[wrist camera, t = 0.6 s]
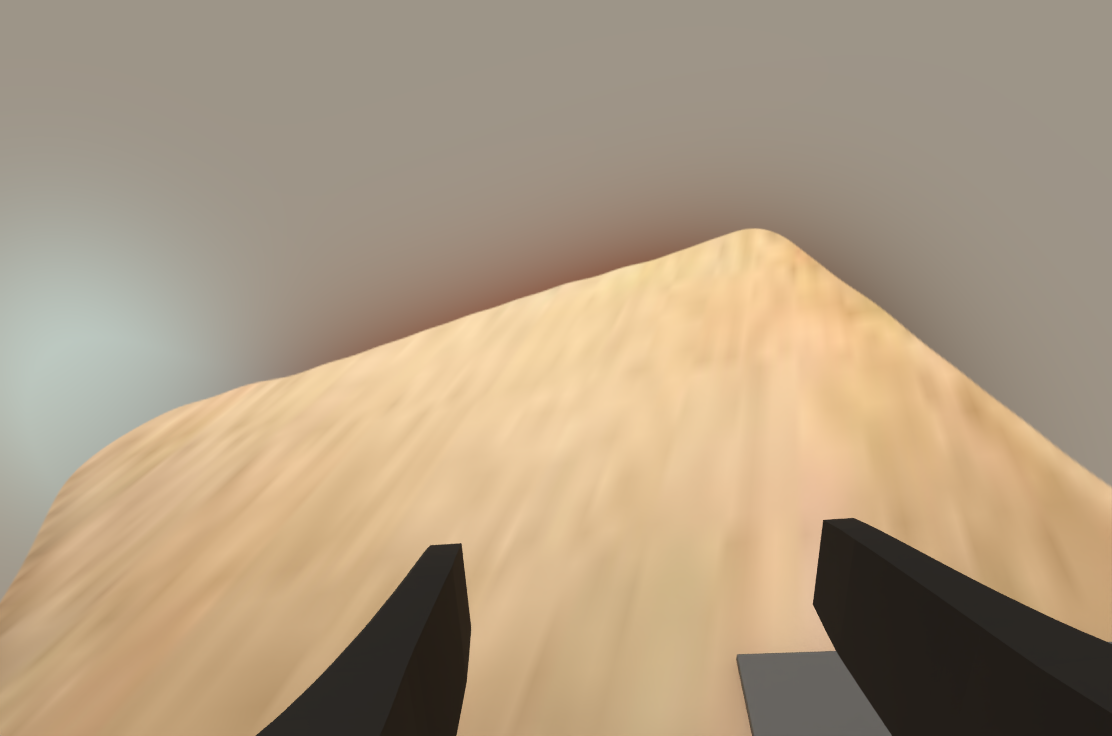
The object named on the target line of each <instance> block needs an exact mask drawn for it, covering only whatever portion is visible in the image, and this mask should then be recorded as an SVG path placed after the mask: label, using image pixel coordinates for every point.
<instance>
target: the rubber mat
mask: <svg viewBox="0 0 1112 736" xmlns="http://www.w3.org/2000/svg"><path fill="white" fill-rule="evenodd" d="M1108 643H1111V644H1112V642H1108ZM736 660H737V665H738V670H739V675H740V679H741V684H742V689H743V694H744V698H745V703H746V708H747V713H748V717H749V722H750V727H751V732H752V736H892V735H891V734H890V732H889V731H888V729H887V728H886V726H885V725H884V723H883V722H882V720H881V719H880V717H879V716H878V714H877V713H876V711H875V710H874V708H873V707H872V705H871V704H870V702H869V701H868V699H867V698H866V696H865V695H864V693H863V692H862V690H861V689H860V687H859V686H858V684H857V683H856V681H855V680H854V678H853V677H852V675H851V674H850V672H849V671H848V669H847V668H846V666H845V664H844V663H843V661H842V660H841V658H840V657H839V655H838V653H837V651H825V652H795V653H765V654H737V658H736Z"/></svg>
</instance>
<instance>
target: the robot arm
mask: <svg viewBox="0 0 1112 736" xmlns="http://www.w3.org/2000/svg"><path fill="white" fill-rule="evenodd" d="M813 606H814V608H815V610H816V612H817V614H818V616H819V618H820V620H821V622H822V624H823V626H824V628H825V630H826V632H827V634H828V636H829V638H830V640H831V642H832V644H833V646H834V648H835V650H836V651H837V653H838V655H839V657H840V658H841V660H842V661H843V663H844V664H845V666H846V668H847V669H848V671H849V672H850V674H851V675H852V677H853V678H854V680H855V681H856V683H857V684H858V686H859V687H860V689H861V690H862V692H863V693H864V695H865V696H866V698H867V699H868V701H869V702H870V704H871V705H872V707H873V708H874V710H875V711H876V713H877V714H878V716H879V717H880V719H881V720H882V722H883V723H884V725H885V726H886V728H887V729H888V731H889V732H890V734H891V735H892V736H1112V644H1111V643H1108V642H1106V641H1103V640H1101V639H1099V638H1096V637H1094V636H1092V635H1089V634H1087V633H1084V632H1082V631H1080V630H1077V629H1075V628H1073V627H1071V626H1069V625H1066V624H1064V623H1062V622H1060V621H1057V620H1055V619H1053V618H1051V617H1049V616H1047V615H1045V614H1042V613H1040V612H1038V611H1036V610H1034V609H1032V608H1030V607H1028V606H1026V605H1024V604H1022V603H1019V602H1017V601H1015V600H1013V599H1011V598H1009V597H1007V596H1005V595H1003V594H1001V593H999V592H997V591H995V590H993V589H991V588H989V587H987V586H985V585H983V584H981V583H979V582H977V581H975V580H973V579H971V578H969V577H967V576H965V575H964V574H962V573H960V572H958V571H956V570H954V569H952V568H950V567H948V566H946V565H944V564H943V563H941V562H939V561H937V560H935V559H933V558H931V557H929V556H928V555H926V554H924V553H922V552H920V551H918V550H916V549H914V548H912V547H911V546H909V545H907V544H905V543H903V542H901V541H899V540H897V539H896V538H894V537H892V536H890V535H888V534H886V533H884V532H882V531H880V530H878V529H876V528H874V527H872V526H870V525H868V524H866V523H864V522H861V521H859V520H857V519H854V518H847V519H831V520H823V527H822V535H821V543H820V551H819V559H818V567H817V575H816V583H815V591H814V600H813ZM470 637H471V622H470V613H469V605H468V596H467V587H466V579H465V570H464V561H463V553H462V544H461V543H460V544H445V545H430V546H429V547H428V548H427V549H426V551H425V552H424V553H423V554H422V556H421V557H420V558H419V560H418V561H417V562H416V564H415V565H414V566H413V568H412V569H411V570H410V572H409V573H408V574H407V576H406V577H405V578H404V580H403V581H402V582H401V583H400V585H399V586H398V587H397V589H396V590H395V591H394V592H393V594H392V595H391V596H390V597H389V599H388V600H387V601H386V602H385V604H384V605H383V606H382V607H381V608H380V610H379V611H378V612H377V613H376V615H375V616H374V617H373V618H372V619H371V621H370V622H369V623H368V624H367V625H366V627H365V628H364V629H363V630H362V631H361V632H360V633H359V634H358V636H357V637H356V638H355V639H354V640H353V641H352V642H351V643H350V644H349V646H348V647H347V648H346V649H345V650H344V651H343V652H342V653H341V654H340V655H339V657H338V658H337V659H336V660H335V661H334V662H333V663H332V664H331V665H330V666H329V667H328V668H327V669H326V671H325V672H324V673H323V674H322V675H321V676H320V677H319V678H318V679H317V680H316V681H315V682H314V683H313V684H312V685H311V686H310V687H309V688H308V689H307V690H306V691H305V692H304V693H303V694H302V695H300V696H299V697H298V698H297V699H296V700H295V701H294V702H293V703H292V704H291V705H290V706H289V707H288V708H287V709H286V710H285V711H284V712H283V713H281V714H280V715H279V716H278V717H277V718H276V719H275V720H274V721H273V722H271V723H270V724H269V725H268V726H267V727H265V728H264V729H263V730H262V731H261V732H259V733H258V734H257V735H256V736H456V735H457V730H458V724H459V719H460V714H461V709H462V704H463V698H464V693H465V688H466V682H467V672H468V661H469V649H470Z"/></svg>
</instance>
